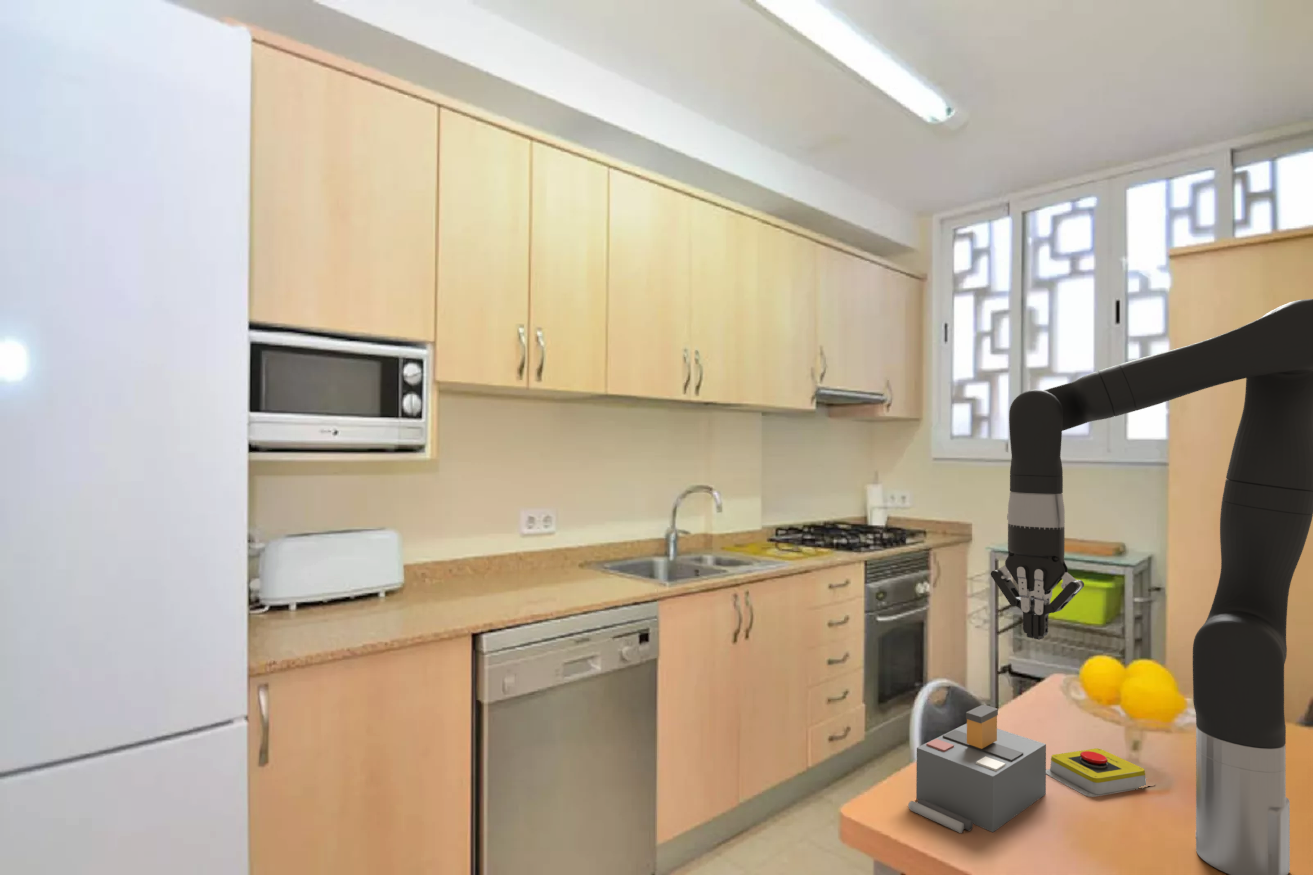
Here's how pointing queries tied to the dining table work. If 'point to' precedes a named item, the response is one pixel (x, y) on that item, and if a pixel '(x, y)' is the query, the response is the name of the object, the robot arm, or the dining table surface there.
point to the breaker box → (981, 776)
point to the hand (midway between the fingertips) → (1035, 637)
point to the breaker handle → (982, 726)
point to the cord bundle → (941, 815)
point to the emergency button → (1096, 772)
